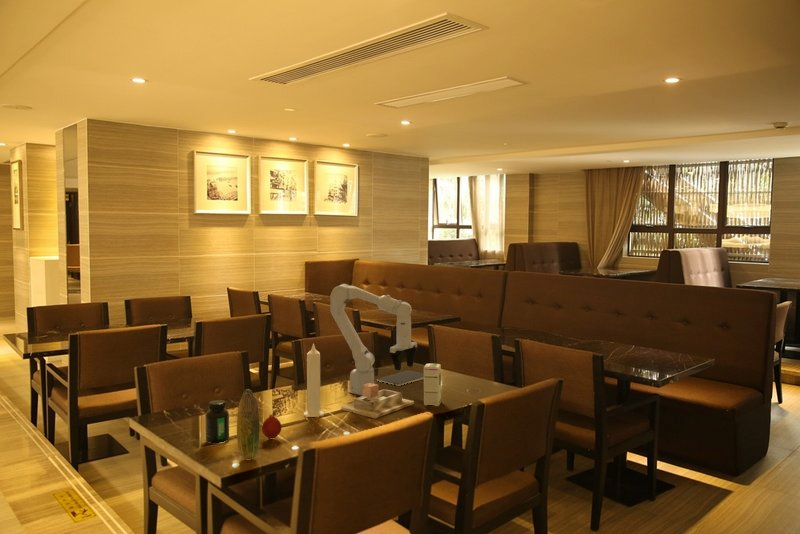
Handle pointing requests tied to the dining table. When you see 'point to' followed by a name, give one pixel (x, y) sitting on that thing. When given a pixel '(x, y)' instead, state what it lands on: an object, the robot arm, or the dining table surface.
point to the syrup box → (432, 384)
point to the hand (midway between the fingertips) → (403, 368)
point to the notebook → (402, 378)
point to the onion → (271, 427)
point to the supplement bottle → (217, 422)
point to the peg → (370, 391)
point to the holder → (378, 404)
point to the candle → (313, 384)
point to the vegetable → (248, 425)
